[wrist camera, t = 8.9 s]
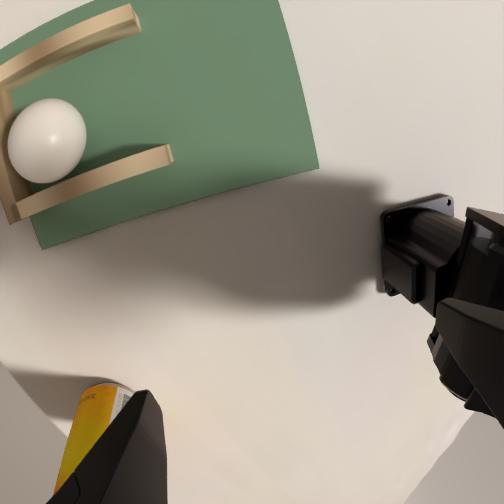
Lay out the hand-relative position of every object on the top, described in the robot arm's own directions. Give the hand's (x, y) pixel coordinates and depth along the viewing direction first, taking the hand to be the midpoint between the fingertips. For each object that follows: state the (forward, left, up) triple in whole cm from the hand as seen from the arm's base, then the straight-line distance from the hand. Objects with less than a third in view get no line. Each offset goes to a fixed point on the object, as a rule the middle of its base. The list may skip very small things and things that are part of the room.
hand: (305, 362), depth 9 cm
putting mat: (+4, -10, -12) cm, 16 cm away
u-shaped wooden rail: (+9, -10, -12) cm, 18 cm away
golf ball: (+9, -9, -9) cm, 16 cm away
